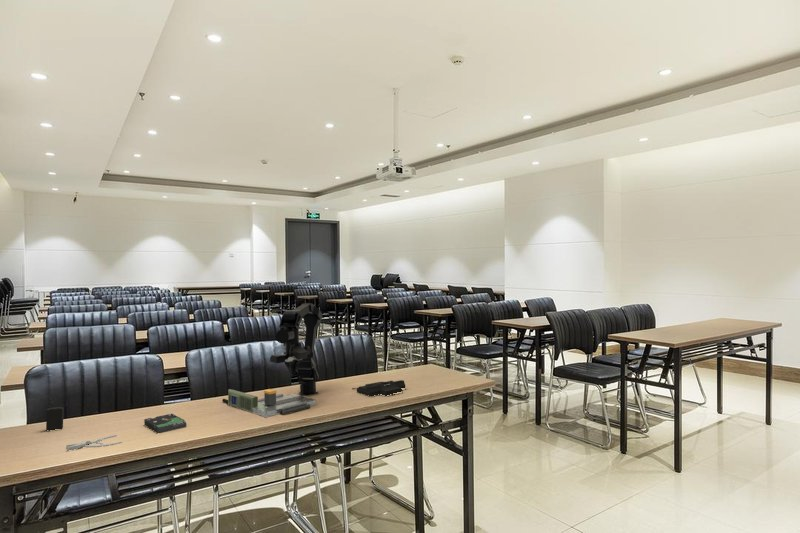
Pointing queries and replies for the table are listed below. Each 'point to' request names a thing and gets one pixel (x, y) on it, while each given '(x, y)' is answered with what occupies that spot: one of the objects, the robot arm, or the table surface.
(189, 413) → the table surface
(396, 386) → the electronic device
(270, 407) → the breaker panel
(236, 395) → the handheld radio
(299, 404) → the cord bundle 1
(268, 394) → the lever
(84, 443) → the pliers
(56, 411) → the ink cartridge
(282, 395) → the grey rounded rod
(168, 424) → the disk drive
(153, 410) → the table surface
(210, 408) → the table surface
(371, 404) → the table surface
